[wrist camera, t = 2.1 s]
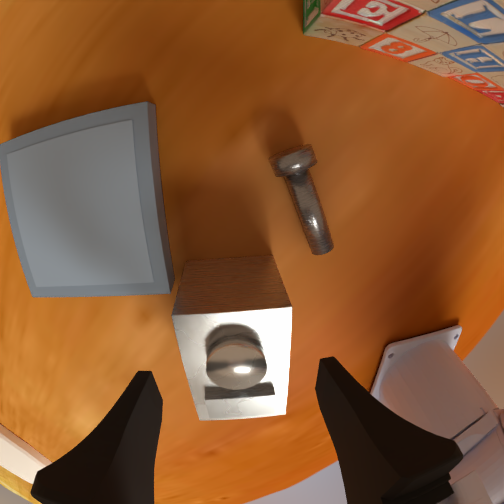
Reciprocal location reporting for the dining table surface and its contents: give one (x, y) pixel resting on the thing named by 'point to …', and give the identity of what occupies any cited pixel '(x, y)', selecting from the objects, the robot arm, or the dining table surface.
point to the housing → (234, 336)
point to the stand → (90, 205)
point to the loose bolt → (304, 194)
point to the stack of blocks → (421, 35)
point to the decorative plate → (20, 456)
